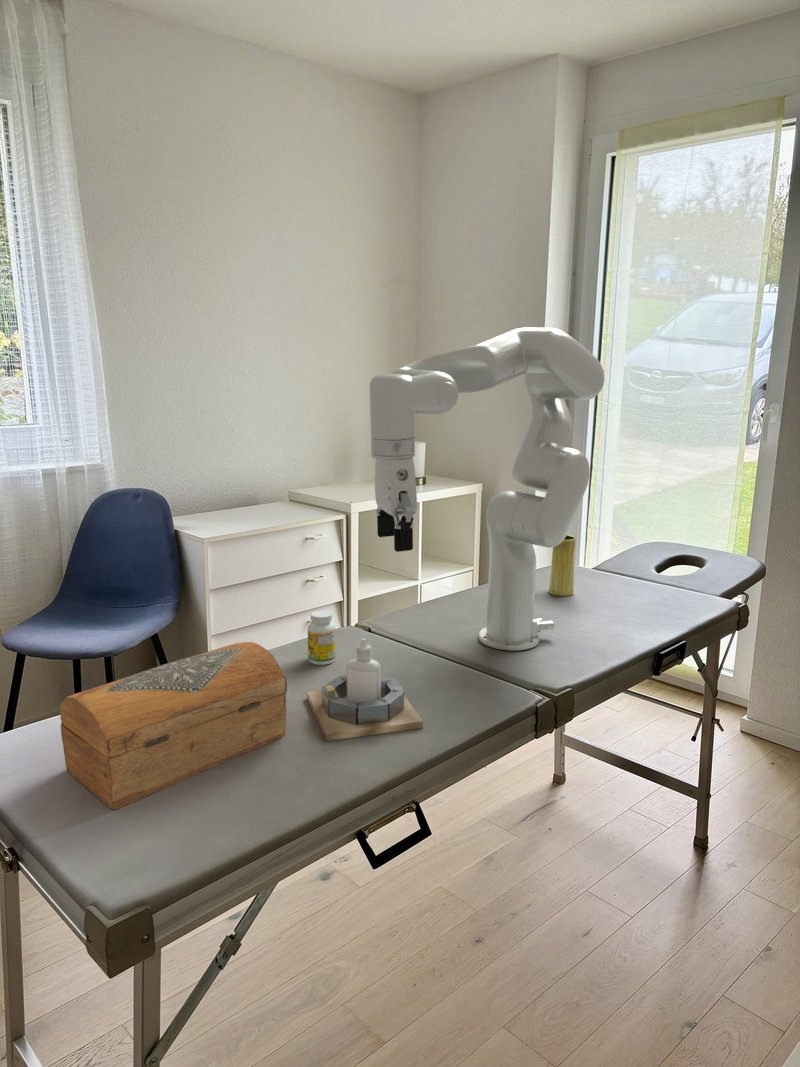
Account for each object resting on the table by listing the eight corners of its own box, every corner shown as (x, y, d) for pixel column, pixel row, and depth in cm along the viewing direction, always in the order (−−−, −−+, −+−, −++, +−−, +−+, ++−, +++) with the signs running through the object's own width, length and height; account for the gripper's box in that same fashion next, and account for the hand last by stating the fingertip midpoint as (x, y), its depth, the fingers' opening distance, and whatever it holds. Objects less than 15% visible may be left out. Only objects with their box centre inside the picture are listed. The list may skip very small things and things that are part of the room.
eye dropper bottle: (367, 715, 136) (367, 647, 132) (343, 704, 139) (342, 638, 136) (384, 706, 139) (385, 639, 136) (361, 696, 142) (360, 631, 139)
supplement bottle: (338, 664, 159) (337, 617, 157) (310, 667, 157) (310, 619, 155) (332, 653, 164) (331, 608, 162) (305, 656, 162) (304, 610, 160)
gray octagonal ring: (388, 685, 147) (389, 665, 146) (411, 718, 135) (411, 695, 134) (317, 694, 143) (316, 673, 142) (333, 728, 131) (333, 705, 130)
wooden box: (230, 704, 142) (227, 629, 138) (290, 738, 131) (288, 656, 127) (59, 767, 121) (50, 680, 118) (112, 813, 110) (104, 718, 106)
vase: (575, 596, 201) (579, 540, 197) (550, 596, 201) (554, 540, 198) (570, 589, 207) (574, 534, 203) (546, 588, 207) (549, 533, 203)
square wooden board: (394, 687, 149) (394, 681, 148) (422, 728, 134) (422, 721, 134) (307, 698, 144) (307, 691, 144) (326, 741, 129) (326, 734, 129)
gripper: (431, 454, 134) (431, 554, 139) (397, 438, 150) (399, 529, 155) (387, 457, 132) (389, 559, 136) (358, 441, 148) (361, 533, 152)
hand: (394, 543), depth 145 cm, fingers open, 9 cm apart
